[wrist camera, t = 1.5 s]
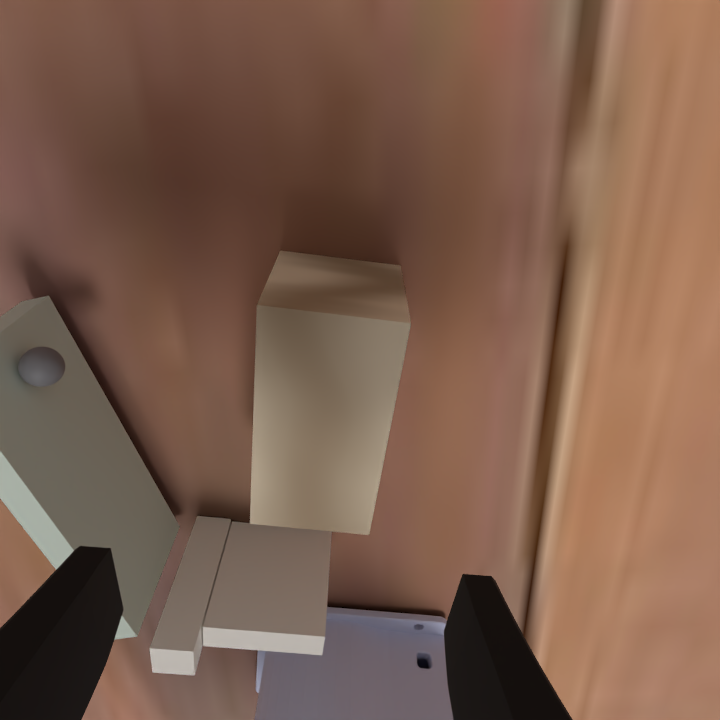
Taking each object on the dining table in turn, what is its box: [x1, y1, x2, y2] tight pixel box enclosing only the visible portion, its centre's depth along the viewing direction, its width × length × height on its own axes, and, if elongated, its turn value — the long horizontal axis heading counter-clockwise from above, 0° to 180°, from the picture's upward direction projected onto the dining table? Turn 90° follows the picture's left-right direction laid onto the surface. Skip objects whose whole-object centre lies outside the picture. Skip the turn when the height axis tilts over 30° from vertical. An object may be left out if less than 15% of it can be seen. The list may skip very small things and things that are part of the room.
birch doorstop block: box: [250, 250, 411, 535], centre depth 17 cm, size 4×8×4 cm, turn 173°
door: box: [0, 296, 180, 640], centre depth 18 cm, size 11×2×5 cm, turn 13°
